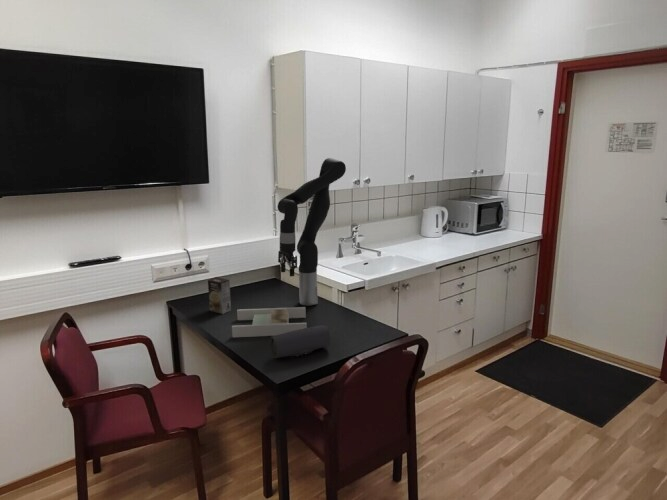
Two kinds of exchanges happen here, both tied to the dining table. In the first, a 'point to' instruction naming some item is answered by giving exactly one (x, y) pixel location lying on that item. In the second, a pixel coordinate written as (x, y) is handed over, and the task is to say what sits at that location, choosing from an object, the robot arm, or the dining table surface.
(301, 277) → the robot arm
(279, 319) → the birch block
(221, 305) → the coffee box
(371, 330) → the dining table surface
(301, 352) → the bluetooth speaker
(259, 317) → the track
